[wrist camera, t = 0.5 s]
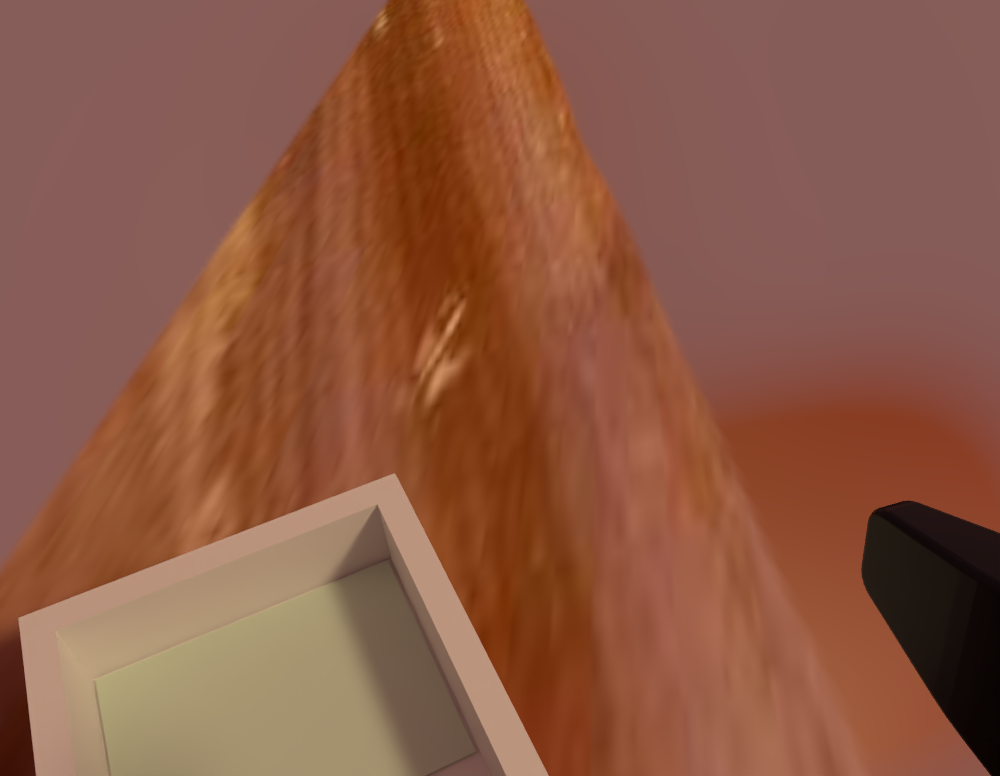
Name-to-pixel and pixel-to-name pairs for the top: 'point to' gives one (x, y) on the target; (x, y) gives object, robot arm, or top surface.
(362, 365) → the top surface
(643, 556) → the top surface
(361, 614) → the box
